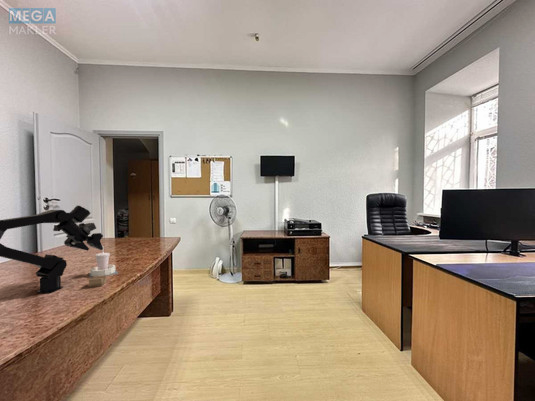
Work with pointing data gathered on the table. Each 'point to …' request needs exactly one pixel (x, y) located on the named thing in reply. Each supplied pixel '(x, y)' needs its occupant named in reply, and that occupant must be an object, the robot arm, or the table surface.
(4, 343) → the table surface
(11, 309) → the table surface
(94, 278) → the walnut block
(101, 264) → the smoothie
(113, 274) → the mat
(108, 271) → the white bowl
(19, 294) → the table surface
